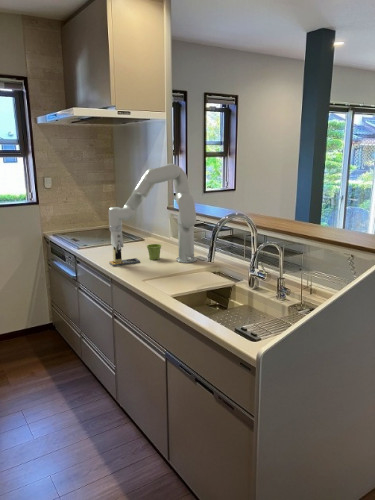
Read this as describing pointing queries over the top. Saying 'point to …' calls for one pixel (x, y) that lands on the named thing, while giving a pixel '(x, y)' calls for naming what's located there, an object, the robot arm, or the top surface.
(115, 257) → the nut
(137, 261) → the rail
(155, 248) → the plant pot
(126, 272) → the top surface
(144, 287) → the top surface
